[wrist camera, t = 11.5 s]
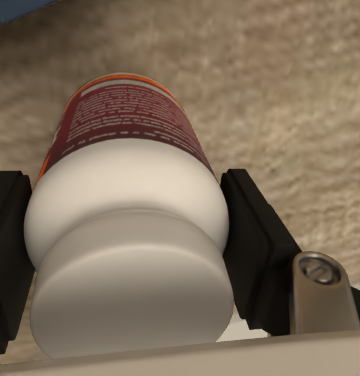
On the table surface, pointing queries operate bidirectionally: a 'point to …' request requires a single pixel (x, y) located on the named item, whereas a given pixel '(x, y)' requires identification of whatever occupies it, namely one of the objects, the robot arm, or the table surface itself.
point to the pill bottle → (126, 227)
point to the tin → (21, 8)
